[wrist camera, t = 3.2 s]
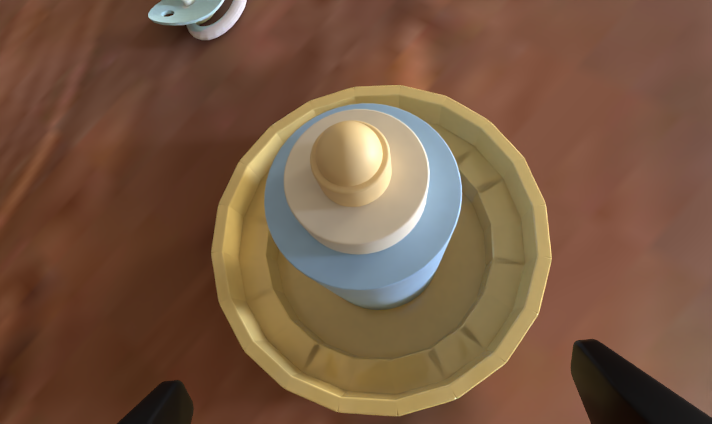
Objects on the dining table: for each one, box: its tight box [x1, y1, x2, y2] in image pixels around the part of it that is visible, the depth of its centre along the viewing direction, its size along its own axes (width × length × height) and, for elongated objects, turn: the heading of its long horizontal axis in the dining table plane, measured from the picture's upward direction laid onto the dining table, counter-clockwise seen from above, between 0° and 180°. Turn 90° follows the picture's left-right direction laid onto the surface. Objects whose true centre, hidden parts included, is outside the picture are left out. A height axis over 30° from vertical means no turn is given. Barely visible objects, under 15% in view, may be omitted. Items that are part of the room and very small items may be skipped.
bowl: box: [211, 85, 552, 417], centre depth 20 cm, size 15×15×4 cm
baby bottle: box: [264, 103, 462, 310], centre depth 16 cm, size 7×7×12 cm
